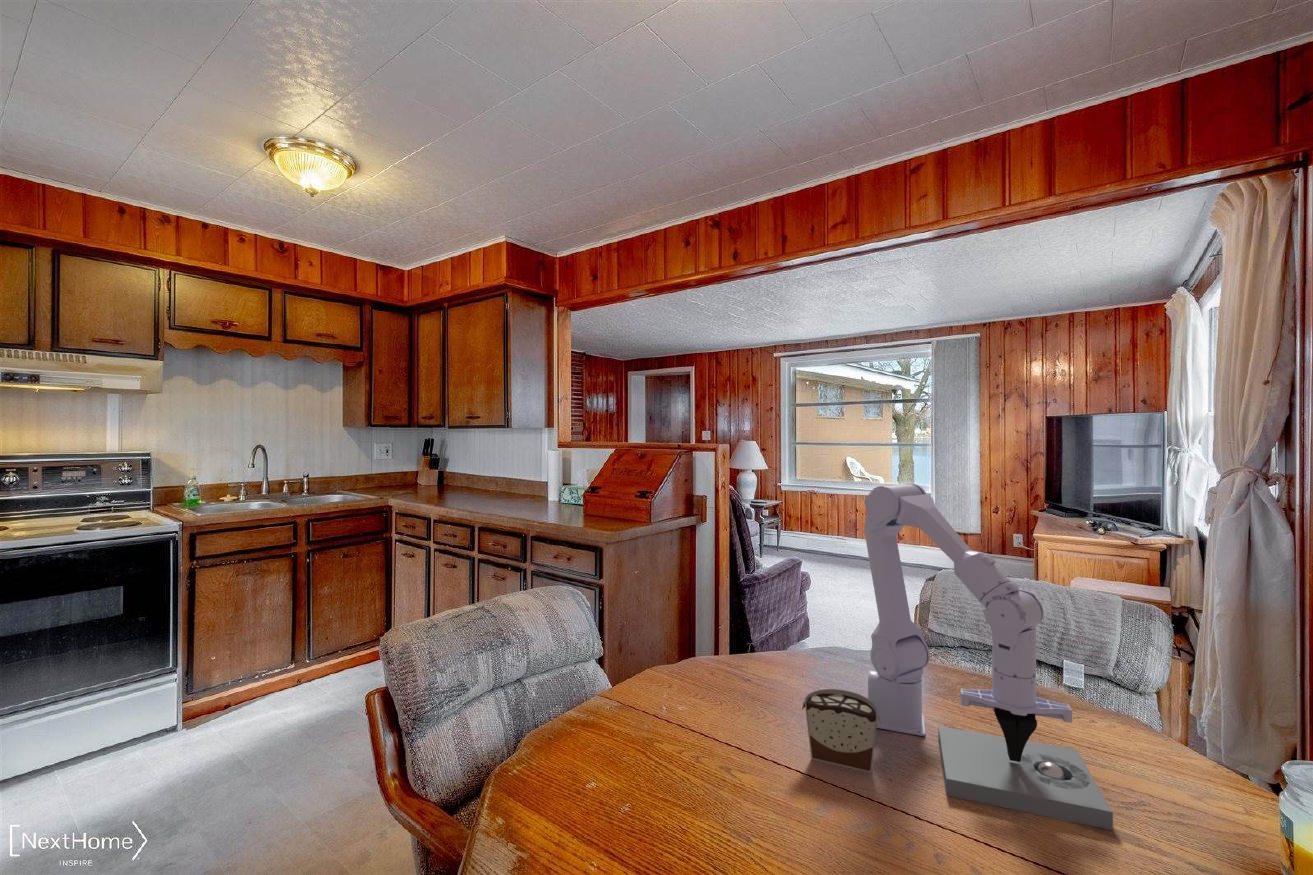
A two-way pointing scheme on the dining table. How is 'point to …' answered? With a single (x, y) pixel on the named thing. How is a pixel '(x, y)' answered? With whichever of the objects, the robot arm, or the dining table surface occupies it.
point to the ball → (1051, 771)
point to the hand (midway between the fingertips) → (1013, 757)
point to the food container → (841, 728)
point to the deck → (1021, 778)
